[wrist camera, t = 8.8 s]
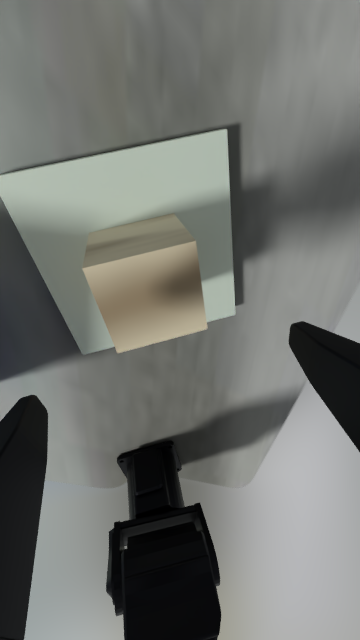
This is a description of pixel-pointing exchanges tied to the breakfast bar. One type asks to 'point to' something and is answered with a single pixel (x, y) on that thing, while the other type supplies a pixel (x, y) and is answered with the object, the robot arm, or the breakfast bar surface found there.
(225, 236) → the sage pad
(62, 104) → the breakfast bar surface
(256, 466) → the breakfast bar surface
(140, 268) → the maple block
